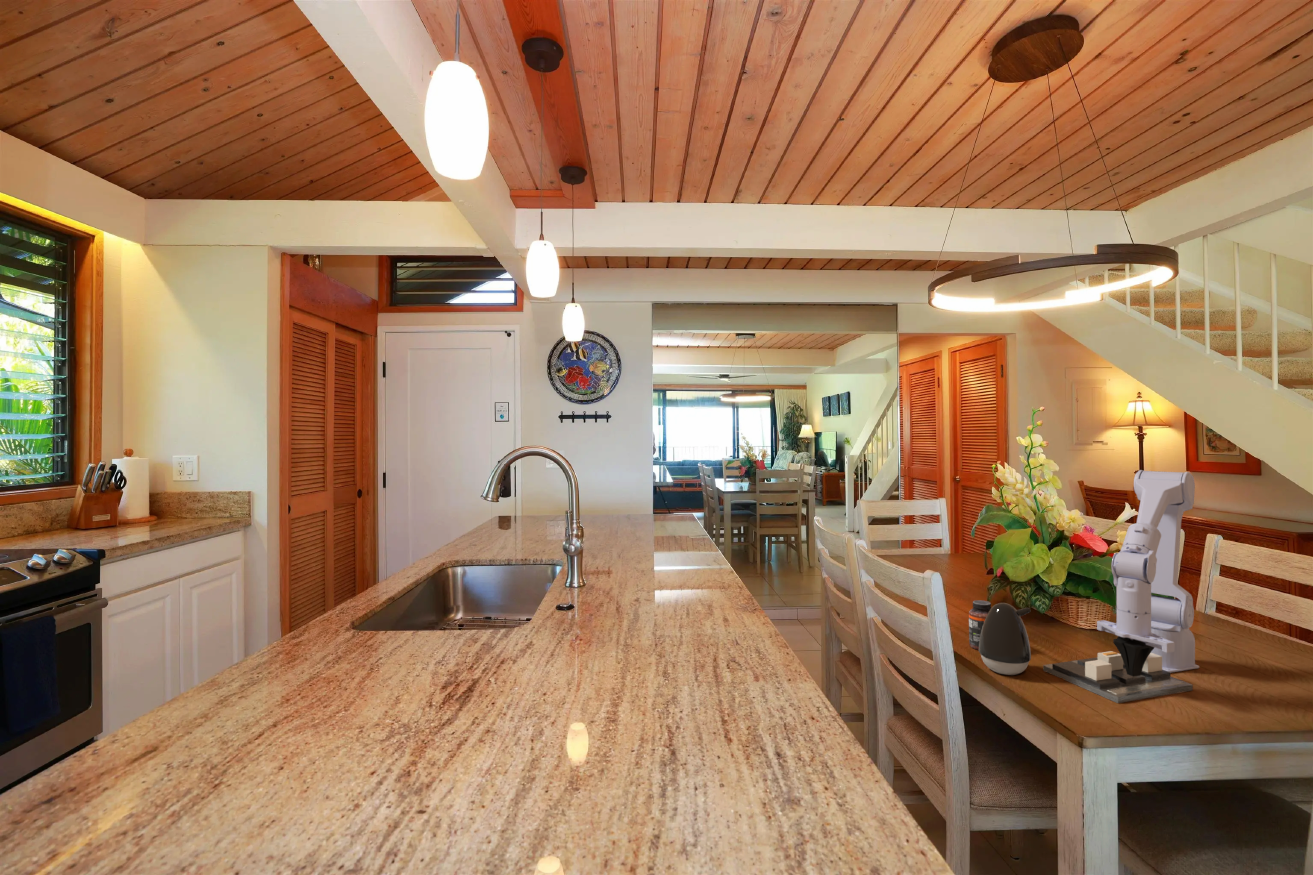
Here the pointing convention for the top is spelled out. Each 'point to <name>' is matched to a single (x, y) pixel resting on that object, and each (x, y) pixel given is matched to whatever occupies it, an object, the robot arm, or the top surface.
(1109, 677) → the block
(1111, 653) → the breaker middle
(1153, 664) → the block
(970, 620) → the supplement bottle
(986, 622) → the pump dispenser
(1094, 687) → the breaker panel
